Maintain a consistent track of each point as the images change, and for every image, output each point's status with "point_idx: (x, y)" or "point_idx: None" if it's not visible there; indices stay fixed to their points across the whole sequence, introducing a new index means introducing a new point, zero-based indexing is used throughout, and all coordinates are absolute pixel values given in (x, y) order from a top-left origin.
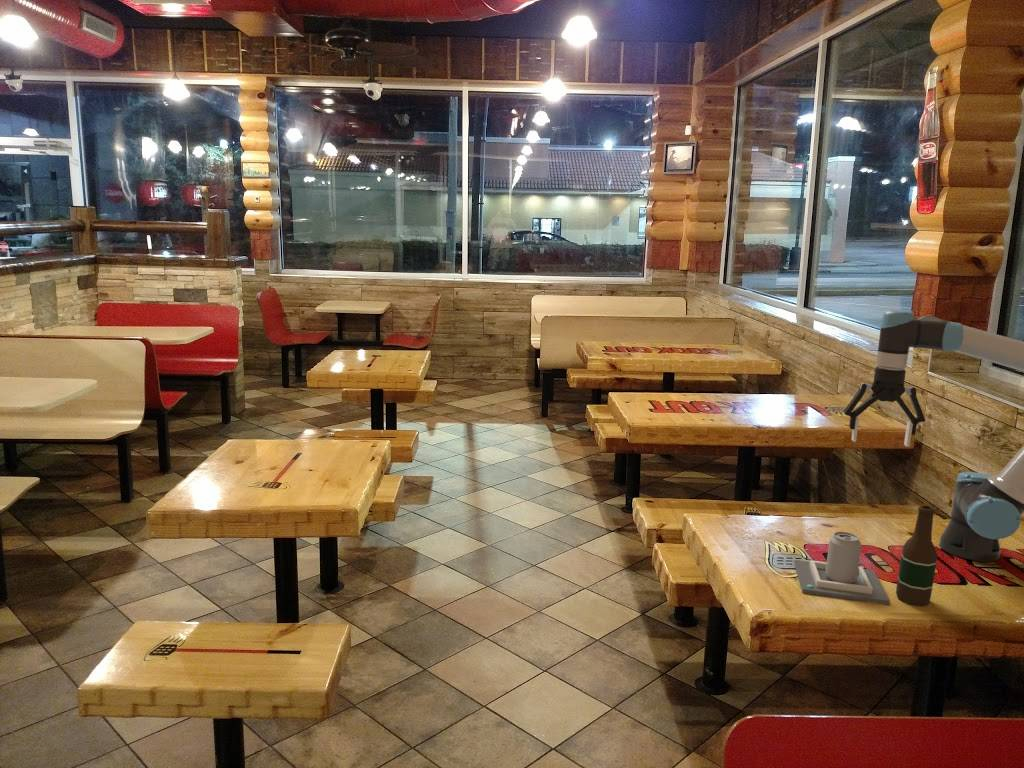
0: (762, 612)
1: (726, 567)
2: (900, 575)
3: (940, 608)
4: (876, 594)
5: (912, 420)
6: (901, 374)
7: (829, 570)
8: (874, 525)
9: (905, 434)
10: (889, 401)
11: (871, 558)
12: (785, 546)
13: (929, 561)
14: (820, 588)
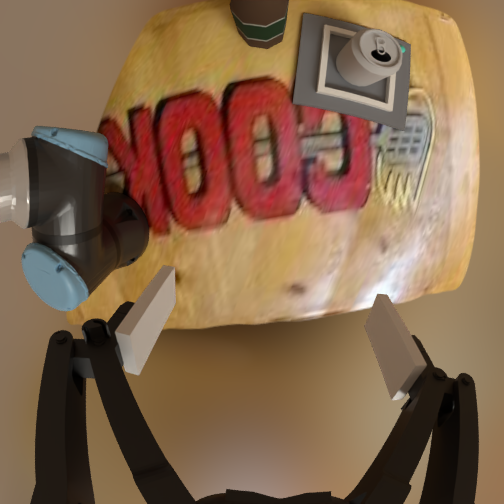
0: (448, 16)
1: (474, 120)
2: (286, 17)
3: (232, 16)
4: (316, 27)
5: (110, 348)
6: None
7: (380, 60)
8: (221, 300)
9: (161, 328)
10: (257, 495)
11: (273, 164)
12: (394, 193)
13: None
14: None
